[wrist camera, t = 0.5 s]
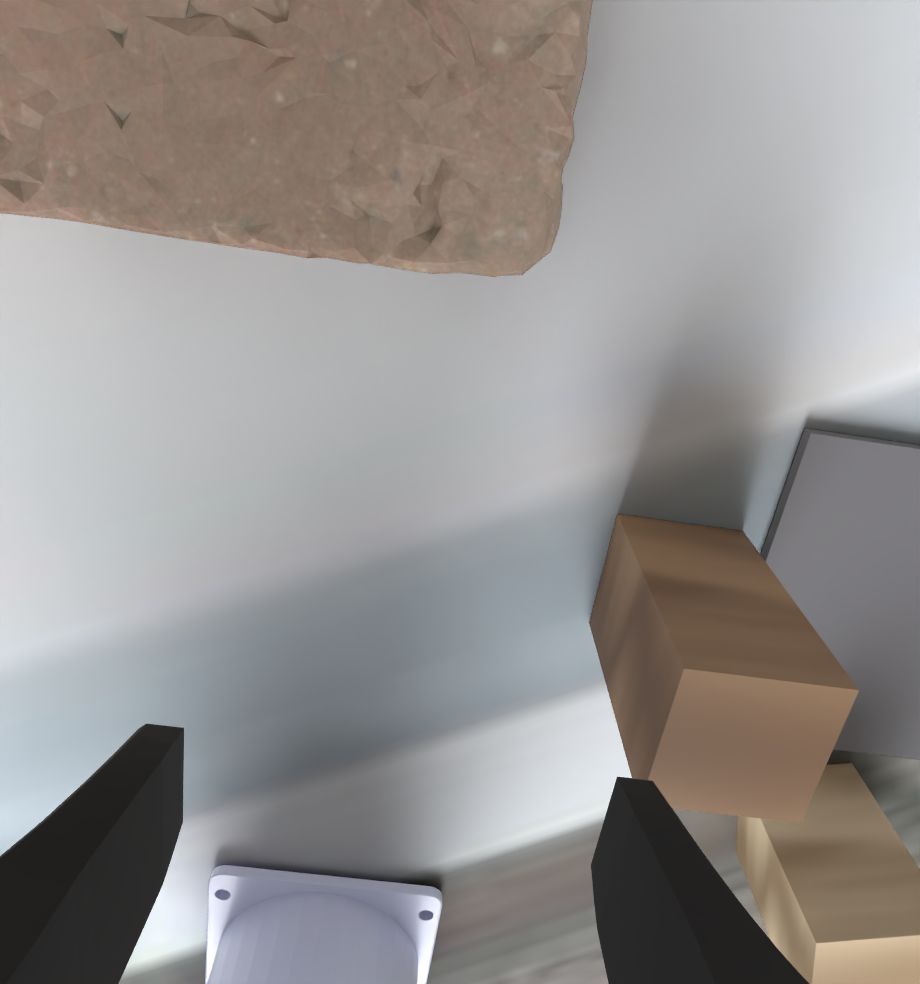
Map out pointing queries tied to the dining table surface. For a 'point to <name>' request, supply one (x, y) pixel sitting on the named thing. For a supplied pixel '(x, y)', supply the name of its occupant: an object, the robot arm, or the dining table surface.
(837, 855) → the oak block
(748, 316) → the dining table surface
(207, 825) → the dining table surface
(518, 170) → the brick
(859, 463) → the mat
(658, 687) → the walnut block
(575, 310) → the dining table surface
